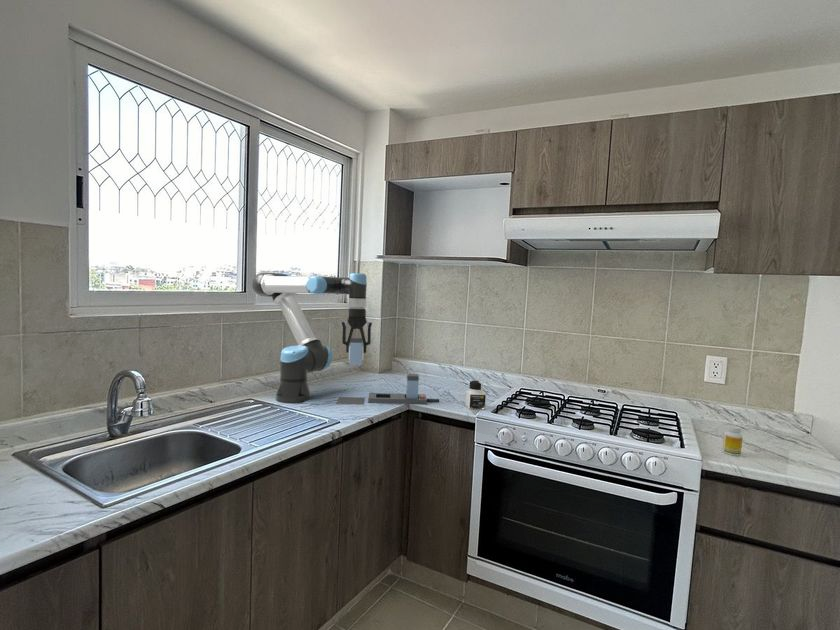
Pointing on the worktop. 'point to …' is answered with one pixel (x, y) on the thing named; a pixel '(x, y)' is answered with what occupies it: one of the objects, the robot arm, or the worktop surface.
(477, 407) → the medicine bottle
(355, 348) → the plug
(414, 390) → the twin plug
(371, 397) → the strip
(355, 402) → the mat
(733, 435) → the supplement bottle
